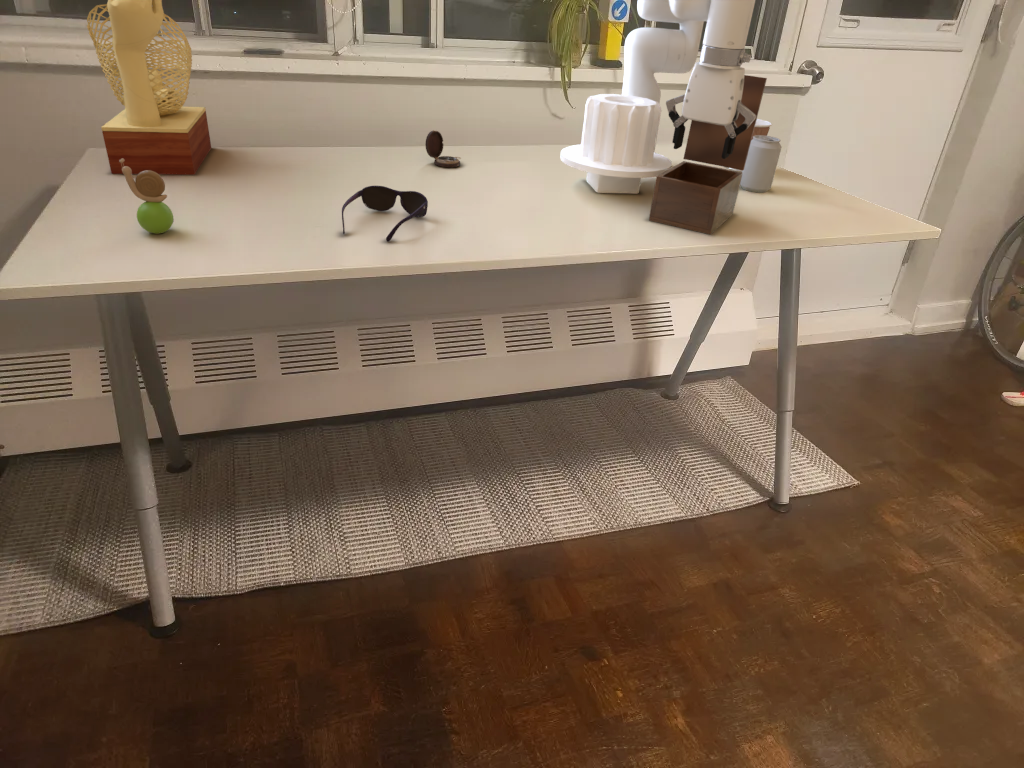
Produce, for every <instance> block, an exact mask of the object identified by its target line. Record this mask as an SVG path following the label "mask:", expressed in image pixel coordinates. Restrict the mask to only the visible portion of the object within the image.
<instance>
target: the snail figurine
mask: <svg viewBox="0 0 1024 768" xmlns="http://www.w3.org/2000/svg"><path fill="white" fill-rule="evenodd" d="M124 161H125V160H124V159H123V158H122V159H121V160H119V162H120V163H121V166H122V163H123V162H124ZM123 166H124V164H123ZM122 172H123V174H122V175H124V178H125V180H126V183H127V185H128V188H129V189H130V191H131V192H132V193H133V194H134V196H136V197H137V198H138V199H140V200H142V201H144V202H142V203H141V204H140V205H139V207H138V208H137V211H136V219H137V222H138V224H139V227H141V228H142V229H143V230H144V231H146V232H148V233H151V234H154V235H155V234H163V233H166V232H167V231H169V230H170V229H171V227H172V226H173V223H174V214H173V211H172V209H171V208H170V206H168V205H167V204H166V203H164V202H163V201H165V200H166V199H167V198H168V195H167V194H163V193H164V192H165V190H166V183H165V181H164V178H163V177H162V176H161V174H158V173H156V172H154V171H150V170H145V171H142V172H140V173H139V174H136V177H135V178H134V176H133V174H132V170H131V168H130V167H128V166H124V167H122Z"/></svg>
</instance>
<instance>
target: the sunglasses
mask: <svg viewBox="0 0 1024 768" xmlns="http://www.w3.org/2000/svg"><path fill="white" fill-rule="evenodd" d="M360 197H361V201H362V203H363V205H364V206H365V207H366V208H368V209H370V210H373V211H377V212H386V211H389V210H391V209H392V208H394V206H395V204H396V202H397V197H399V200H400V202H399V203H400V205H401V207H402V209H403V210H404V211H405V212H406V213H407V214H408V216H405V217H404V218H402V219H401V220H400V221H399V222H397V223H396V224H395V226H393V228H392V229H391V230H390V232H389V233H388V234H387V236H386V238H385V240H386V242H390V241H391V240H392V238H393V237H394V235H395V234H396V232H397V231H398V229H399V228H400V227H401V226H402V225H403V224H405V223H406V222H408V221H409V220H411V219H413V218H414V217H415V218H423V217H425V216H426V215H427V213H428V207H429V202H428V198H427V197H426V196H425V195H424V194H423V193H421V192H419V191H415V190H406V191H405V190H397V189H394V188H390V187H387V186H384V185H369V186H365V187H363V188H362V189H360V190H358V191H357V192H355V193H354V194H353V195H351V196H350V197H349V198H348V199H347V200H346V201H345V202H344V203H343V205H342V207H341V223H342V234H343V235H345V233H346V232H345V218H344V212H345V209H346V207H347V206H349V205H350V204H352V202H354V201H355V200H357V199H358V198H360Z"/></svg>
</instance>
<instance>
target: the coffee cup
mask: <svg viewBox="0 0 1024 768" xmlns="http://www.w3.org/2000/svg"><path fill="white" fill-rule="evenodd" d="M772 126H773V124H772V122H770V121H768V120H766V119H761V118H757V120H756V124H755V128H754V132H753V136H755V135H764V136H768V134H769V131H770V127H772ZM753 136H752V139H753ZM728 170H732V171H738V172H742V170H738V169H733V168H728Z"/></svg>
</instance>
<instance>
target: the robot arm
mask: <svg viewBox="0 0 1024 768" xmlns="http://www.w3.org/2000/svg"><path fill="white" fill-rule="evenodd" d="M755 4H756V0H637V4H636V9H637V15H638V16H639V17H640V18H641V19H643V20H645V21H649V22H660V23H661V22H662V23H672V24H674V23H675V24H679V29H675V28H665V27H664V28H663V27H650V26H649V27H648V26H646V27H643V26H642V27H638V28H635V29H633V30H631V31H630V32H629V33H628V34H627V36H626V38H625V41H624V47H623V80H622V88H621V89H622V90H621V95H630V96H631V95H632V96H637V97H642V98H648V99H650V100H653V101H657V102H658V103H659V104H660V102H661V97H662V94H661V87H660V85H659V83H658V81H657V79H656V77H655V74H656V73H657V74H659V73H661V74H686V73H689V72H691V73H690V76H689V80H688V82H687V86H686V89H685V93H683V94H681V95H679V96H676V97H673V98H671V99H668V100H666V101H665V106H666V109H667V113H668V117H669V119H670V121H671V123H672V124H673V127H674V131H673V136H672V137H673V138H672V144H673V150H677V149H678V150H679V149H680V148H681V147H682V146H683V143H684V137H685V134H686V133H685V132H686V125H685V124H686V122H687V121H692V120H694V121H699V122H705V123H710V124H716V125H723V126H725V128H726V130H727V132H728V137H726V139H725V143H724V148H723V152H722V157H721V158H722V159H726V158H727V157H728V156H729V154H732V152H733V149H734V144H735V140H736V136H737V135H739V134H740V133H742V132H743V131H745V130H746V129H747V128H748V127H749V126H750V125H751V123H752V122H753V121H754V120H755V119H756V115H755V114H754V113H753V112H752V111H751V110H749V109H748V108H747V107H746V106H744V105H743V104H742V103H741V99H742V93H743V86H744V75H746V74H745V73H746V72H745V67H742V65H743V64H744V63H750V62H751V59H752V54H748V53H747V52H746V44H747V39H748V36H749V31H750V27H751V21H752V18H753V13H754V8H755ZM705 22H706V24H705ZM704 24H705V29H704V30H705V31H704V34H703V28H704ZM702 34H703V40H702V45H701V39H702ZM700 45H701V50H700V56H699V60H698V61H697V59H698V54H699V49H700ZM691 70H692V71H691ZM680 103H682V105H681V115H680V114H679V112H678V111H677V109H676V105H678V104H680ZM739 113H740V114H742V115H743V116H744V117H745V121H744V122H743V124H742V125H740V126H739V127H737V125H736V123H735V121H736V120H737V118H738V115H739Z"/></svg>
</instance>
